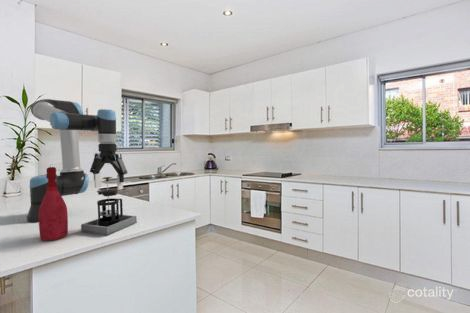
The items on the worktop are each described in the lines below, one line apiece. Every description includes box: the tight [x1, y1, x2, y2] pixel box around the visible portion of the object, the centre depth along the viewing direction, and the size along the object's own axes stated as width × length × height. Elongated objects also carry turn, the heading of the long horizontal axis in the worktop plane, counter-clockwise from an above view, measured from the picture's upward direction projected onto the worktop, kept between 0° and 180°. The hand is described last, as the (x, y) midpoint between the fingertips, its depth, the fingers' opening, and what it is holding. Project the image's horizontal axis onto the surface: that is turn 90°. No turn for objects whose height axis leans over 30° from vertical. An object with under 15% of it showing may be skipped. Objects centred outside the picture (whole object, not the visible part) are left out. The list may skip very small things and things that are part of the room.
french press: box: [96, 176, 124, 227], centre depth 116 cm, size 12×9×23 cm
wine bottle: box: [38, 166, 69, 242], centre depth 104 cm, size 10×10×30 cm
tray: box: [80, 214, 138, 237], centre depth 117 cm, size 15×18×4 cm
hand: (108, 188), depth 116 cm, fingers open, 13 cm apart
